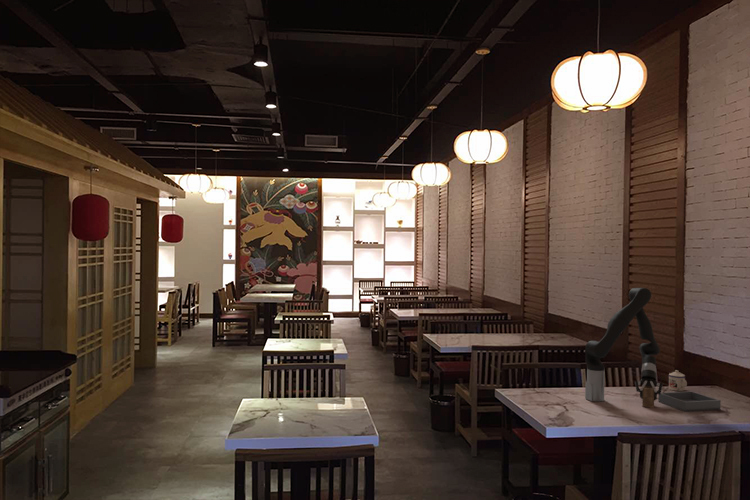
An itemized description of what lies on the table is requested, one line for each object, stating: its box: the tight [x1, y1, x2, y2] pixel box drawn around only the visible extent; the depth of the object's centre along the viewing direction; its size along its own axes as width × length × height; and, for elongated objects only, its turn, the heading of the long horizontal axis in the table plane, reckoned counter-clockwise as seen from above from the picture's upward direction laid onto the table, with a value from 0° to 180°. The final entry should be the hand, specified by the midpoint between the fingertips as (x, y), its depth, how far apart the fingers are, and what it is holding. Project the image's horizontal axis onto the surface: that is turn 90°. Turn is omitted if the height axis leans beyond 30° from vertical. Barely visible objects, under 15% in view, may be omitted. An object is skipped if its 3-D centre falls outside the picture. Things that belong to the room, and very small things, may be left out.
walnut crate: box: [642, 386, 655, 409], centre depth 307 cm, size 6×6×10 cm
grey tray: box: [658, 390, 722, 413], centre depth 309 cm, size 22×20×5 cm
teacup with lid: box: [668, 369, 688, 392], centre depth 344 cm, size 12×9×12 cm
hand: (648, 398), depth 305 cm, fingers closed on walnut crate, 5 cm apart
